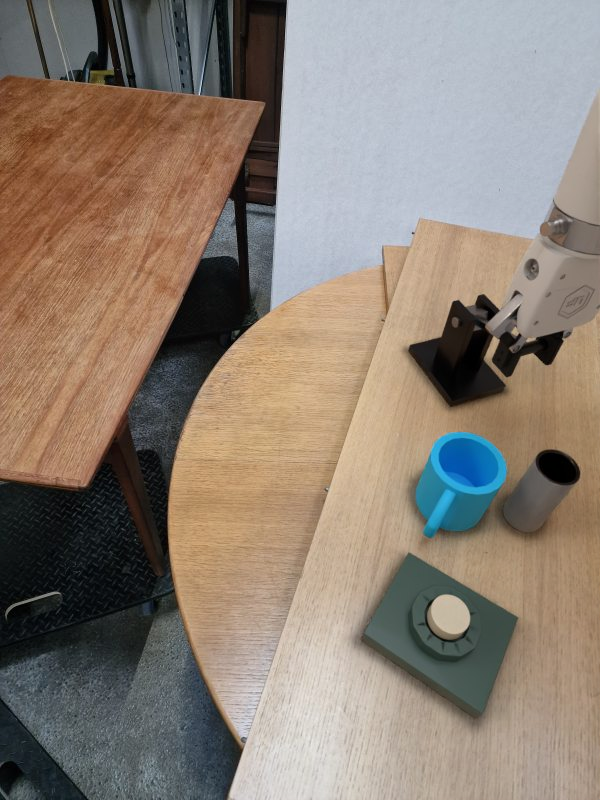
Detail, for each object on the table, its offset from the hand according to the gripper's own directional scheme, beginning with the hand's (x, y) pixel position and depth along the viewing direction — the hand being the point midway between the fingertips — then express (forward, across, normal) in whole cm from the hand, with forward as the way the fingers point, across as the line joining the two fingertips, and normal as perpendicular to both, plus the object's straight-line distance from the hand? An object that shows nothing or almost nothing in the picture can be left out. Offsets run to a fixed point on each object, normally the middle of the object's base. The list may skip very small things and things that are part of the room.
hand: (521, 362), depth 63 cm
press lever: (+1, 0, +5) cm, 5 cm away
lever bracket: (+11, 0, +10) cm, 15 cm away
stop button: (+8, -22, -21) cm, 32 cm away
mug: (+11, -14, -10) cm, 21 cm away
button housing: (+11, -22, -21) cm, 33 cm away
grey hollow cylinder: (+11, -6, -13) cm, 18 cm away
